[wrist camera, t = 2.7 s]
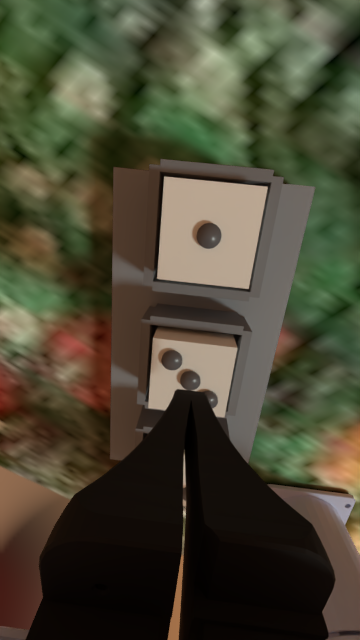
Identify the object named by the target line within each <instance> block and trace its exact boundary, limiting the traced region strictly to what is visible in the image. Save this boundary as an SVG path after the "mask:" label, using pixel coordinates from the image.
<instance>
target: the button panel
mask: <svg viewBox="0 0 360 640" xmlns="http://www.w3.org/2000/svg"><path fill="white" fill-rule="evenodd" d="M273 173H274V170H269V169H259V168H249V167H238V166H228V165H218V164H208V163H197V162H187V161H177V160H166V159H161V161H160V165H153V164H149V171H148V170H138V169H128V168H118V167H114V174H113V256H112V338H111V419H110V459H113V460H121V461H122V460H123V459H124V458H125V457H126V456H127V455H128V454H129V453H130V452H131V451H133V450H134V449H135V448H136V447H137V446H138V445H139V444H140V442H141V441H142V440H143V439H144V438H145V437H146V436H147V435H148V434H149V432H150V431H151V430H152V429H153V427H154V426H155V425H156V423H157V422H158V421H159V419H160V418H161V417H162V415H163V413H164V412H165V410H160V409H151V408H148V403H149V388H150V374H151V360H152V345H153V337H154V334H155V332H156V330H157V327H158V326H162V327H170V328H179V329H188V330H197V331H205V332H214V333H223V334H232V335H233V336H234V339H235V342H236V345H237V353H236V359H235V364H234V369H233V375H232V380H231V385H230V390H229V396H228V401H227V406H226V412H225V417H217V419H218V421H219V423H220V424H221V426H222V428H223V430H224V431H225V433H226V434H227V436H228V437H229V439H230V441H231V442H232V443H233V445H234V446H235V448H236V449H237V451H238V452H239V453H240V454H241V456H242V457H243V458H244V460H245V461H246V462H247V463H248V462H249V458H250V454H251V450H252V446H253V442H254V438H255V434H256V429H257V425H258V421H259V417H260V413H261V409H262V405H263V401H264V397H265V392H266V388H267V384H268V380H269V376H270V372H271V368H272V364H273V359H274V355H275V351H276V347H277V343H278V339H279V335H280V331H281V326H282V322H283V318H284V314H285V310H286V306H287V302H288V298H289V294H290V289H291V285H292V281H293V277H294V273H295V269H296V265H297V261H298V256H299V252H300V248H301V244H302V240H303V236H304V232H305V228H306V224H307V219H308V215H309V211H310V207H311V203H312V199H313V195H314V191H315V187H311V186H301V185H291V184H283V180H284V177H276V176H273ZM164 177H174V178H185V179H195V180H205V181H215V182H225V183H235V184H245V185H255V186H266V187H268V189H267V194H266V200H265V205H264V210H263V215H262V221H261V226H260V231H259V237H258V242H257V247H256V253H255V258H254V263H253V268H252V274H251V279H250V284H249V289H244V288H235V287H226V286H216V285H207V284H198V283H189V282H180V281H171V280H162V279H157V273H158V259H159V245H160V230H161V216H162V201H163V187H164Z"/></svg>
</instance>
